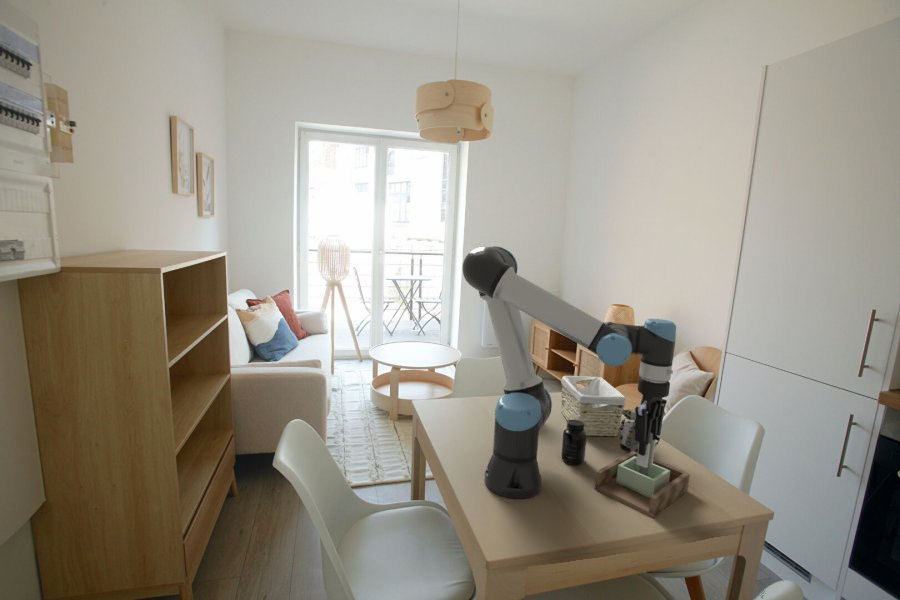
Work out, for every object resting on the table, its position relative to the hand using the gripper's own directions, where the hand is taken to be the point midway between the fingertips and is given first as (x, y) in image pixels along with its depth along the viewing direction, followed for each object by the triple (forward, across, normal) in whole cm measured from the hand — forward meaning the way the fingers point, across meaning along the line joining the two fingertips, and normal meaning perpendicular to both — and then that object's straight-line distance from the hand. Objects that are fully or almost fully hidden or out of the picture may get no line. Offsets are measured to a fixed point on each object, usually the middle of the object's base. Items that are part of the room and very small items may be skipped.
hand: (644, 463), depth 123 cm
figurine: (+8, +20, +11) cm, 24 cm away
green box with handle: (+6, 0, 0) cm, 6 cm away
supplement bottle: (+8, -1, +21) cm, 22 cm away
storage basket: (+8, +28, +34) cm, 44 cm away
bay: (+8, 0, 0) cm, 8 cm away
